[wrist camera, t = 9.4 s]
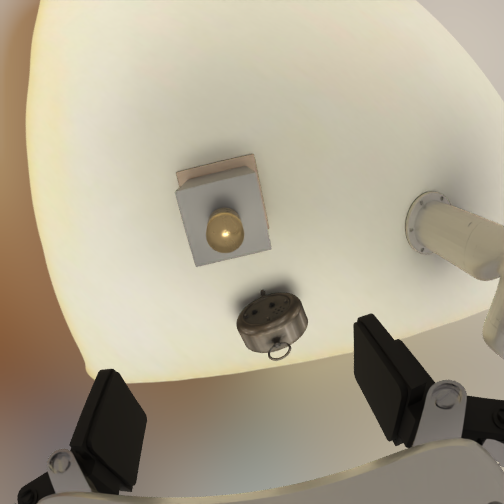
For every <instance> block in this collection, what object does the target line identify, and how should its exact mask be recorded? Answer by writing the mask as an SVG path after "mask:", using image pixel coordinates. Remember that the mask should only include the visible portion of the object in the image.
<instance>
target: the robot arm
mask: <svg viewBox="0 0 504 504" xmlns="http://www.w3.org/2000/svg"><path fill="white" fill-rule="evenodd" d="M406 236H407V239H408V242H409V244H410V246H411V247H412V248H413V249H414V250H416V251H417V252H419V253H421V254H431V253H436V254H437V255H439V256H441V257H442V258H444V259H446V260H447V261H449V262H450V263H452V264H454V265H455V266H457V267H458V268H460V269H461V270H463V271H465V272H466V273H468V274H469V275H471V276H472V277H474V278H476V279H478V280H482V281H489V280H493V279H496V278H499V277H500V280H499V283H498V287H497V290H496V293H495V296H494V299H493V301H492V304H491V306H490V309H489V312H488V314H487V317H486V320H485V322H484V326H483V331H482V332H483V333H482V334H483V339H484V341H485V343H486V344H487V345H488V346H489V347H490V348H491V349H492V350H493V351H494V352H495V353H496V354H498V355H499V356H500V357H502V358H503V359H504V226H503V225H500V224H498V223H496V222H493V221H491V220H488V219H485V218H483V217H480V216H478V215H475V214H473V213H470V212H468V211H465V210H462V209H460V208H457V207H454V206H451V204H450V202H449V200H448V199H447V198H446V197H445V196H444V195H442V194H440V193H437V192H426V193H424V194H422V195H421V196H420V197H418V198H417V199H416V200H415V201H414V203H413V204H412V206H411V208H410V210H409V212H408V215H407V219H406ZM354 375H355V378H356V381H357V383H358V384H359V386H360V388H361V390H362V392H363V394H364V396H365V398H366V400H367V401H368V403H369V405H370V407H371V409H372V411H373V413H374V415H375V416H376V419H377V420H378V423H379V424H380V427H381V428H382V430H383V432H384V434H385V436H386V438H387V440H388V441H392V440H393V442H394V444H395V446H398V445H400V444H402V443H404V444H405V446H406V447H407V448H408V449H405V450H402V451H400V452H397V453H394V454H392V455H389V456H386V457H383V458H380V459H378V460H375V461H372V462H370V463H367V464H364V465H361V466H358V467H355V468H352V469H349V470H346V471H342V472H339V473H336V474H332V475H329V476H325V477H322V478H318V479H314V480H310V481H306V482H302V483H298V484H293V485H289V486H283V487H278V488H273V489H267V490H261V491H254V492H247V493H239V494H231V495H221V496H207V497H184V498H182V497H181V498H161V497H137V496H123V495H119V490H120V491H127V492H132V488H133V485H135V484H136V480H137V473H138V467H139V461H140V456H141V450H142V444H143V439H144V433H145V428H146V423H147V417H146V414H145V412H144V411H143V409H142V408H141V406H140V405H139V403H138V402H137V400H136V399H135V397H134V396H133V394H132V393H131V391H130V390H129V388H128V386H127V385H126V383H125V382H124V380H123V378H122V377H121V375H120V374H119V373H118V372H116V371H115V370H114V369H105V370H100V371H99V372H98V375H97V377H96V379H95V382H94V384H93V386H92V389H91V391H90V394H89V396H88V398H87V401H86V403H85V406H84V408H83V410H82V413H81V416H80V418H79V421H78V423H77V426H76V429H75V432H74V434H73V437H72V439H71V442H70V446H71V450H70V451H69V450H68V449H59V450H56V451H54V452H53V453H52V454H51V455H50V456H49V458H48V460H47V464H46V467H47V472H46V473H44V474H43V475H41V476H40V477H38V478H36V479H35V480H33V481H31V482H30V483H28V484H27V485H25V486H24V487H22V488H21V490H20V491H19V493H18V504H504V472H503V470H502V469H501V467H500V466H502V467H504V400H495V399H487V398H479V397H472V396H467V393H466V391H465V388H464V387H463V386H462V385H461V384H460V383H458V382H456V381H452V380H442V381H439V382H437V383H435V382H434V381H433V380H432V378H431V377H430V376H429V374H428V373H427V372H426V371H425V370H424V368H423V367H422V365H421V364H420V363H419V362H418V360H417V359H416V358H415V357H414V356H413V355H412V353H411V352H410V351H409V349H408V348H407V347H406V346H405V344H404V343H403V342H402V341H401V340H399V339H397V340H394V339H393V338H392V337H391V335H390V334H389V333H388V332H387V330H386V329H385V328H384V327H383V325H382V324H381V323H380V322H379V320H378V319H377V318H376V317H375V316H374V315H373V314H368V315H365V316H362V317H359V318H358V320H357V322H355V323H354ZM496 461H498V462H499V464H497V462H496ZM499 465H500V466H499ZM15 504H16V503H15Z"/></svg>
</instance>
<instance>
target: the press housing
mask: <svg viewBox="0 0 504 504" xmlns="http://www.w3.org/2000/svg"><path fill="white" fill-rule="evenodd" d="M176 175H177V179H178V183H179V187H180V188H179V189H177V190H176V191H175V195H176V198H177V202H178V206H179V210H180V213H181V217H182V220H183V224H184V228H185V231H186V235H187V238H188V242H189V245H190V248H191V252H192V255H193V259H194V262H195V265H196V267H198V266H202V265H206V264H211V263H215V262H219V261H224V260H228V259H232V258H236V257H241V256H245V255H249V254H253V253H258V252H262V251H266V250H271V244H270V239H269V234H268V229H269V225H268V220H267V215H266V210H265V205H264V200H263V196H262V191H261V186H260V181H259V176H258V172H257V167H256V162H255V158H254V154H251V155H246V156H241V157H237V158H232V159H228V160H223V161H219V162H215V163H211V164H207V165H203V166H199V167H195V168H191V169H187V170H183V171H180V172H176ZM219 208H230V209H232V210H234V211H236V212H237V213H238V215H239V216H240V218H241V222H242V225H243V229H244V240H243V242H242V244H241V246H240V247H239V248H238V249H237V250H235V251H233V252H230V253H220V252H217V251H215V250H213V249H212V248H211V247H210V246H209V244H208V242H207V240H206V229H207V223H208V219H209V217H210V215H211V214H212V213H213V212H214V211H215V210H217V209H219Z"/></svg>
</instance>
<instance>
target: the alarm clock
mask: <svg viewBox="0 0 504 504" xmlns="http://www.w3.org/2000/svg"><path fill="white" fill-rule="evenodd" d="M261 295H262V297H261V298H259V299H257V300H255V301H254V302H252V303H251V304H249V305H248V306H247V307H246V308H244V309H243V311H242V312H241V313H240V315H239V317H238V319H237V329H238V331H239V333H240V335H241V337H242V339H243V341H244V343H245V345H246V347H247V348H248V349H250V350H252V351H254V352H259V353H268V357H269V358H270V359H271V360H274V361H278V360H281V359H283V358H285V357H286V356H287V355H288V354H289V353H290V351H291V346H290V345H291V344H292V343H294V342H295V341H297V340H298V339H299V338H300V337H301V336H302V335H303V333H304V332H305V330H306V328H307V325H308V319H307V316H306V314H305V311H304V309H303V306H302V303H301V301H300V299H299V298H298V297H296V296H295V295H293V294H290V293H274V294H270V295H266V294H265V291H264V290H261ZM287 346H289V350H288V352H287V353H286V354H285V355H284V356H282V357H280V358H272V357H271V356H270V352H274V351H278V350H281V349H283V348H285V347H287Z"/></svg>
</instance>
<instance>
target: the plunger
mask: <svg viewBox="0 0 504 504" xmlns="http://www.w3.org/2000/svg"><path fill="white" fill-rule="evenodd" d="M206 240H207V242H208V244H209V246H210V247H211V248H212V249H213V250H215V251H217V252H220V253H230V252H233V251H235V250H237V249H238V248H239V247H240V246H241V244H242V242H243V240H244V229H243V225H242V222H241V218H240V216H239V215H238V213H237V212H236V211H234V210H232V209H230V208H219V209H217V210H215V211H214V212H213V213H212V214H211V215H210V217H209V219H208V223H207V229H206Z"/></svg>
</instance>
